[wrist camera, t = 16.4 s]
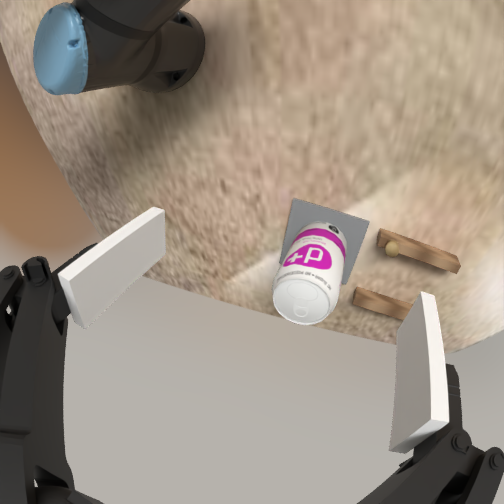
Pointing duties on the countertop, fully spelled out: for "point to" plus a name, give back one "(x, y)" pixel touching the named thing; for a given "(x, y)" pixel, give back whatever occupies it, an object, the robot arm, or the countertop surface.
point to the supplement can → (311, 274)
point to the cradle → (411, 249)
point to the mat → (345, 223)
